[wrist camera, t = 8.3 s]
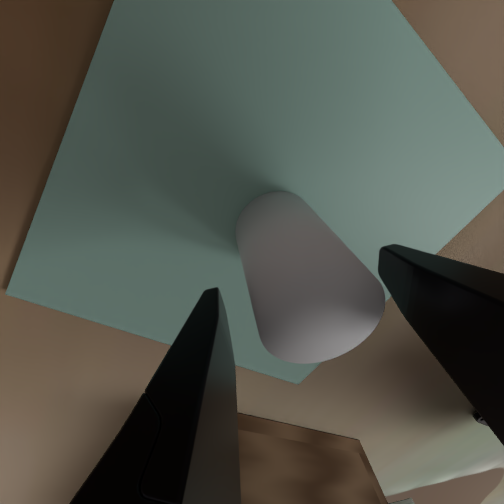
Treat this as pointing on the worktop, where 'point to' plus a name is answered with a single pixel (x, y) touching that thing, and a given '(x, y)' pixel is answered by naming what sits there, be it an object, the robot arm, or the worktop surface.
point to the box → (302, 466)
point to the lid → (254, 173)
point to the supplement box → (404, 501)
